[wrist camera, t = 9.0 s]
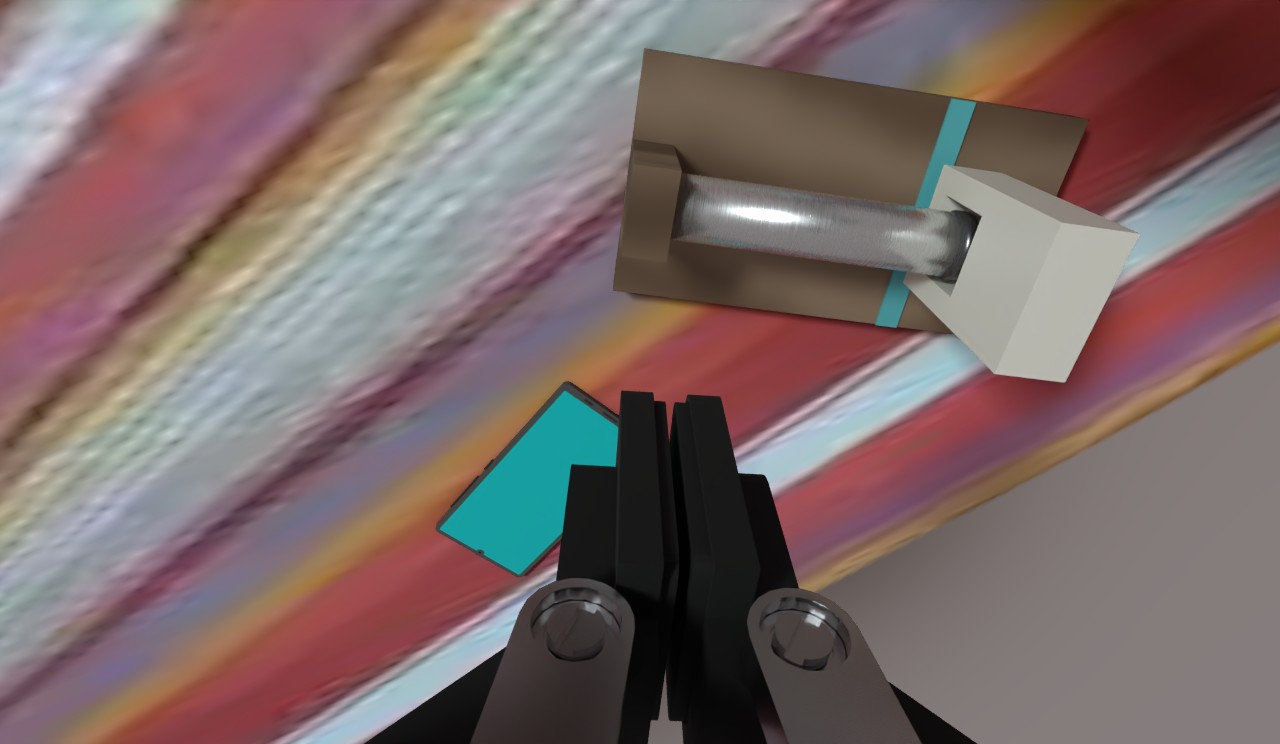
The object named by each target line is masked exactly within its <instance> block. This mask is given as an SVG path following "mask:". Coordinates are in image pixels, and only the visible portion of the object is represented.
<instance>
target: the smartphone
mask: <svg viewBox="0 0 1280 744" xmlns="http://www.w3.org/2000/svg"><path fill="white" fill-rule="evenodd" d="M618 426H619V415H616V414H614V413H613V412H611V411H610V410H609V409H608V408H607V407H606V406H604V405H603V404H601V403H600V402H599V401H597V400H596V399H594V398H593V397H591V396H590V395H589V394H587V393H586V392H584V391H583V390H581V389H580V388H579V387H577V386H576V385H574V384H573V383H571V382H569V381H567V382H564V383H563V384H562V385H561V386H560V387H559V388H558V389H557V390H556V392H555V393H554V394H553V395H552V396H551V397H550V398H549V399H548V400H547V402H546V403H545V404H544V405H543V406H542V407H541V408H540V409H539V410H538V412H537V413H536V414H535V415H534V416H533V417H532V418H531V419H530V420H529V422H528V423H527V424H526V425H525V426H524V427H523V428H522V429H521V430H520V431H519V433H518V434H517V435H516V436H515V437H514V438H513V439H512V440H511V441H510V443H509V444H508V445H507V446H506V447H505V448H504V449H503V450H502V451H501V453H500V454H499V455H498V456H497V457H496V458H495V459H494V460H493V459H492V460H491V462H490V463H489V464H488V465H487V466H486V467H485V468H484V469H485V470H484V471H483V473H482V474H481V475H480V476H477V477H476V478H475V479H474V480H473V482H472V483H471V484H470V485H469V486H468V487H467V488H466V489H465V490H464V492H463V493H462V494H461V495H460V496H459V497H458V498H457V499H456V500H455V502H454V503H453V504H452V505H451V506H450V507H451V508H450V509H449V510H448V511H447V512H446V514H445V515H444V516H443V517H442V518H441V519H440V520H439V521H438V523H437V525H436V531H437V532H439V533H441V534H442V535H444V536H446V537H448V538H449V539H451V540H453V541H455V542H456V543H458V544H460V545H462V546H463V547H465V548H467V549H469V550H470V551H472V552H474V553H475V554H477V555H479V556H480V557H483V558H484V559H486V560H488V561H490V562H491V563H493V564H495V565H497V566H498V567H500V568H502V569H504V570H505V571H507V572H509V573H511V574H512V575H514V576H516V577H523V576H524V575H525V574H526V573H527V572H528V571H529V570H530V569H531V568H532V567H533V566H534V565H535V564H536V563H537V562H538V561H539V560H540V559H541V558H542V557H543V556H544V555H545V554H546V553H547V552H548V551H549V550H550V549H551V548H552V547H553V546H554V545H555V544H556V543H558V542H559V541H560V540H561V539H562V531H563V523H564V515H565V508H566V500H567V492H568V484H569V476H570V469H571V464H577V465H595V466H614V467H616V453H617V440H618Z"/></svg>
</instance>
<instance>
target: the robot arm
mask: <svg viewBox="0 0 1280 744" xmlns="http://www.w3.org/2000/svg"><path fill="white" fill-rule="evenodd" d="M665 669H666V683H667V702H668V717H669V720H670V721H682V730H683V743H684V744H977V743H975V742H974V741H972V740H971V739H970V738H968V737H967V736H965V735H964V734H962V733H961V732H960V731H958V730H957V729H955V728H954V727H952V726H951V725H950V724H948V723H947V722H945V721H944V720H942V719H941V718H940V717H938V716H937V715H935V714H934V713H932V712H931V711H930V710H928V709H927V708H925V707H924V706H922V705H921V704H920V703H918V702H917V701H915V700H914V699H913V698H911V697H910V696H908V695H907V694H905V693H904V692H902V691H901V690H899V689H898V688H897V687H895V686H894V685H893V684H891V683H889V682H888V681H887V679H886V677H885V675H884V674H883V672H882V670H881V668H880V667H879V665H878V663H877V661H876V659H875V657H874V655H873V653H872V652H871V650H870V648H869V646H868V644H867V642H866V641H865V639H864V637H863V635H862V633H861V631H860V630H859V628H858V626H857V625H856V623H855V622H854V621H853V620H852V618H851V617H850V615H849V614H848V613H847V612H846V611H844V610H843V609H842V608H841V607H840V606H838V605H837V604H836V603H835V602H833V601H832V600H830V599H828V598H826V597H824V596H822V595H820V594H818V593H815V592H811V591H808V590H804V589H799V587H798V583H797V580H796V576H795V573H794V569H793V566H792V562H791V559H790V555H789V552H788V549H787V545H786V542H785V538H784V535H783V531H782V528H781V524H780V521H779V518H778V514H777V511H776V507H775V504H774V500H773V497H772V493H771V490H770V487H769V483H768V481H767V478H766V477H765V476H764V475H761V474H742V473H738V470H737V465H736V461H735V457H734V452H733V448H732V444H731V440H730V435H729V431H728V427H727V422H726V418H725V414H724V409H723V405H722V401H721V398H720V397H719V396H703V395H687V398H686V403H679V402H675V403H674V408H673V416H672V424H671V433H670V441H669V435H668V424H667V413H666V403H665V402H663V401H654V395H653V392H636V391H621V399H620V413H619V426H618V440H617V453H616V467H614V466H595V465H577V464H571V469H570V476H569V484H568V492H567V500H566V508H565V515H564V523H563V531H562V539H561V547H560V555H559V563H558V570H557V578H556V581H554V582H552V583H550V584H548V585H546V586H544V587H542V588H539V589H538V590H537V591H536V592H535V593H534V594H533V595H531V596H530V597H529V598H528V599H527V600H526V602H525V604H524V605H523V607H522V609H521V610H520V612H519V615H518V617H517V620H516V623H515V625H514V628H513V631H512V633H511V636H510V639H509V641H508V644H507V646H506V647H505V648H504V649H502V650H501V651H499V652H498V653H496V654H495V655H493V656H492V657H490V658H489V659H487V660H486V661H484V662H483V663H482V664H480V665H479V666H477V667H476V668H474V669H473V670H471V671H470V672H468V673H467V674H465V675H464V676H462V677H461V678H460V679H458V680H457V681H455V682H454V683H452V684H451V685H449V686H448V687H446V688H445V689H443V690H442V691H441V692H439V693H438V694H436V695H435V696H433V697H432V698H430V699H429V700H427V701H426V702H424V703H423V704H421V705H420V706H419V707H417V708H416V709H414V710H413V711H411V712H410V713H408V714H407V715H405V716H404V717H402V718H401V719H399V720H398V721H397V722H395V723H394V724H392V725H391V726H389V727H388V728H386V729H385V730H383V731H382V732H380V733H379V734H377V735H376V736H375V737H373V738H372V739H370V740H369V741H367V742H366V743H364V744H648V737H649V729H650V722H651V720H658V717H659V711H660V704H661V697H662V689H663V683H664V675H665Z"/></svg>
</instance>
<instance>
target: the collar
mask: <svg viewBox="0 0 1280 744" xmlns="http://www.w3.org/2000/svg"><path fill="white" fill-rule="evenodd" d="M929 208H930V209H937V210H944V211H953V210H960V211H967V212H971V213H973V214H974V215H979V216H982V217H981V220H980V222H979V225H978V228H977V230H976V233H975V235H974V238H973V240H972V243H971V246H970V248H969V251H968V253H967V256H966V259H965V261H964V264H963V266H962V269H961V271H960V274H959V277H958V279H957V280H948V279H940V278H937V277H936V276H934V275H927V274H919V273H912V272H906V275H905V278H904V281H903V283H904V284H905V285H906V286H907V287H908V288H909V289H910V290H911V291H912V292H913V293H914V294H915V295H916V296H917V297H918V298H919V299H920V300H921V301H922V302H923V303H924V304H925V305H926V306H927V307H928V308H929V309H930V310H931V311H932V312H933V313H934V314H935V315H936V316H937V317H938V318H939V319H940V320H941V321H942V322H943V323H944V324H945V325H946V326H947V327H948V328H949V329H950V330H951V331H952V332H953V333H954V334H955V335H956V336H957V337H958V338H959V339H960V340H961V341H962V342H963V343H964V344H965V345H966V346H967V347H968V348H969V349H970V350H971V351H972V352H973V353H974V354H975V355H976V356H977V357H978V358H979V359H980V360H981V361H982V362H983V363H984V364H985V365H986V366H987V367H988V368H989V369H990V370H991V371H992V372H993V373H994V374H999V375H1007V376H1016V377H1024V378H1032V379H1040V380H1048V381H1056V382H1064V383H1065V382H1066V380H1067V378H1068V376H1069V374H1070V372H1071V370H1072V368H1073V366H1074V364H1075V362H1076V360H1077V358H1078V356H1079V354H1080V352H1081V350H1082V348H1083V346H1084V344H1085V342H1086V340H1087V338H1088V336H1089V334H1090V332H1091V330H1092V328H1093V326H1094V324H1095V322H1096V320H1097V318H1098V316H1099V314H1100V313H1101V311H1102V309H1103V307H1104V305H1105V303H1106V301H1107V299H1108V297H1109V295H1110V293H1111V291H1112V289H1113V287H1114V285H1115V283H1116V281H1117V279H1118V277H1119V275H1120V273H1121V271H1122V269H1123V267H1124V265H1125V263H1126V261H1127V259H1128V257H1129V255H1130V253H1131V251H1132V249H1133V247H1134V245H1135V243H1136V241H1137V239H1138V238H1139V236H1140V234H1139V233H1137V232H1135V231H1133V230H1130V229H1128V228H1126V227H1124V226H1121V225H1119V224H1117V223H1114V222H1112V221H1110V220H1108V219H1105V218H1103V217H1101V216H1099V215H1096V214H1094V213H1092V212H1089V211H1087V210H1085V209H1083V208H1080V207H1078V206H1076V205H1074V204H1071V203H1069V202H1067V201H1065V200H1062V199H1060V198H1058V197H1055V196H1053V195H1051V194H1049V193H1046V192H1044V191H1042V190H1040V189H1037V188H1035V187H1033V186H1030V185H1028V184H1026V183H1024V182H1021V181H1019V180H1017V179H1015V178H1012V177H1010V176H1008V175H1006V174H1003V173H999V172H992V171H986V170H979V169H972V168H965V167H959V166H952V165H945V164H944V166H943V169H942V172H941V175H940V178H939V180H938V183H937V186H936V189H935V192H934V195H933V198H932V201H931V203H930V206H929Z"/></svg>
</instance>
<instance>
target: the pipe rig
mask: <svg viewBox="0 0 1280 744" xmlns="http://www.w3.org/2000/svg"><path fill="white" fill-rule="evenodd" d="M1088 122H1089V120H1087V119H1083V118H1079V117H1075V116H1070V115H1064V114H1057V113H1051V112H1045V111H1038V110H1032V109H1026V108H1019V107H1013V106H1007V105H1000V104H994V103H988V102H981V101H975V100H969V99H962V98H956V97H950V96H943V95H937V94H931V93H924V92H918V91H912V90H905V89H899V88H893V87H886V86H880V85H874V84H867V83H861V82H855V81H848V80H842V79H836V78H829V77H823V76H817V75H810V74H804V73H798V72H791V71H785V70H779V69H772V68H766V67H760V66H753V65H747V64H741V63H734V62H728V61H722V60H715V59H709V58H703V57H696V56H690V55H684V54H677V53H671V52H665V51H658V50H652V49H646V48H644V55H643V62H642V70H641V78H640V85H639V93H638V100H637V108H636V116H635V123H634V131H633V138H632V146H631V154H630V161H629V169H628V176H627V184H626V191H625V199H624V207H623V214H622V222H621V229H620V237H619V245H618V252H617V260H616V267H615V275H614V285H613V290H614V291H621V292H629V293H637V294H645V295H653V296H660V297H668V298H676V299H684V300H692V301H699V302H707V303H715V304H723V305H731V306H739V307H746V308H754V309H762V310H770V311H778V312H785V313H793V314H801V315H809V316H817V317H824V318H832V319H840V320H848V321H856V322H864V323H871V324H876V325H879V326H887V327H894V328H897V327H903V328H910V329H918V330H926V331H934V332H942V333H949V334H954V333H953V332H952V331H951V330H950V329H949V328H948V327H947V326H946V325H945V324H944V323H943V322H942V321H941V320H940V319H939V318H938V317H937V316H936V315H935V314H934V313H933V312H932V311H931V310H930V309H929V308H928V307H927V306H926V305H925V304H924V303H923V302H922V301H921V300H920V299H919V298H918V297H917V296H916V295H915V294H914V293H913V292H912V291H911V290H910V289H909V288H908V287H907V286H906V285H905V284H904V283H903V281H904V278H905V275H906V272H912V273H919V274H927V275H934V276H936V277H937V278H940V279H948V280H957V279H958V277H959V274H960V271H961V269H962V266H963V264H964V261H965V259H966V256H967V253H968V251H969V248H970V246H971V243H972V240H973V238H974V235H975V233H976V230H977V228H978V225H979V222H980V220H981V217H982V216H979V215H974V214H973V213H971V212H967V211H960V210H953V211H944V210H937V209H930V208H929V206H930V203H931V201H932V198H933V195H934V192H935V189H936V186H937V183H938V180H939V178H940V175H941V172H942V169H943V166H944V164H945V165H952V166H959V167H965V168H972V169H979V170H986V171H992V172H999V173H1003V174H1006V175H1008V176H1010V177H1012V178H1015V179H1017V180H1019V181H1021V182H1024V183H1026V184H1028V185H1030V186H1033V187H1035V188H1037V189H1040V190H1042V191H1044V192H1046V193H1049V194H1051V195H1053V196H1055V197H1056V196H1057V193H1058V191H1059V189H1060V186H1061V184H1062V182H1063V180H1064V177H1065V175H1066V173H1067V170H1068V168H1069V166H1070V163H1071V161H1072V159H1073V156H1074V154H1075V152H1076V150H1077V147H1078V145H1079V143H1080V140H1081V138H1082V136H1083V133H1084V131H1085V129H1086V127H1087V124H1088Z"/></svg>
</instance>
